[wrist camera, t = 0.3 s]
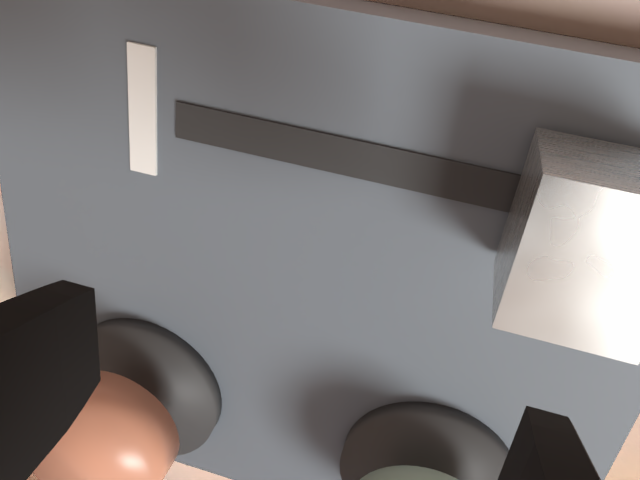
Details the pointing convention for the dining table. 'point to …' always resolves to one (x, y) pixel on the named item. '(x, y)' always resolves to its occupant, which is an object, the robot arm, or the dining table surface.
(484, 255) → the control panel
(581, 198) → the slider knob
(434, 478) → the sage button
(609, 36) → the dining table surface
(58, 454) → the terracotta button
